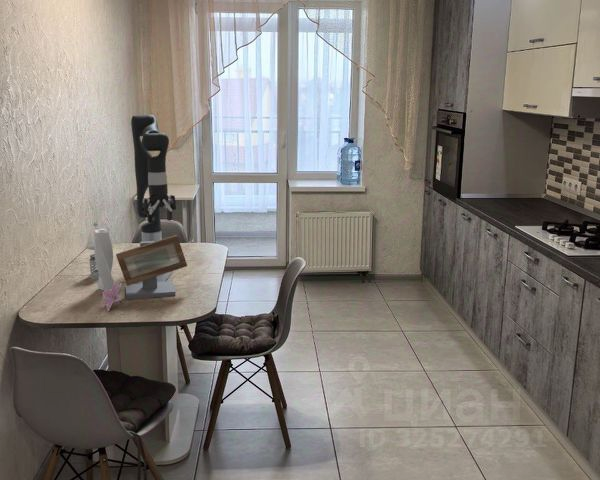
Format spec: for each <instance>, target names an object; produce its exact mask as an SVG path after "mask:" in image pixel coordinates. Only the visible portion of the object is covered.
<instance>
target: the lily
mask: <svg viewBox="0 0 600 480" xmlns="http://www.w3.org/2000/svg"><path fill="white" fill-rule="evenodd" d="M122 285H123V283H122V282H121V283H118V284H117V285H116V282H114V283H113V285H112V287H111V290H105V291H103V290H102V296H103V299H105V300H104V302H103V303H102V306H101V308H104V307H106V310H107V312H110V310H111V307H112V304H113V303H114V302H118V301H119V302H120V303H121V305H124V304H123V302H122V301H121V297H120V295H119V294H118V292H119V290H120V288H121V287H122Z"/></svg>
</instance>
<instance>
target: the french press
mask: <svg viewBox="0 0 600 480" xmlns="http://www.w3.org/2000/svg"><path fill="white" fill-rule="evenodd" d="M93 226H94V227H95V228H97V226H98V222H94V223H93ZM87 249H88V250H90V251H94V243H93V244H90V245H89V246H88V247H87ZM89 257H90V258H89V259H88V261H89V267H90V268H89V269H90V270H89V272H90V274H88V278H89V279H92V280H93V279H96V280H99V272H98V269H97V265H96V260H95V253H92V254H90V255H89Z"/></svg>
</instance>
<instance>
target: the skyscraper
mask: <svg viewBox="0 0 600 480" xmlns="http://www.w3.org/2000/svg"><path fill="white" fill-rule="evenodd" d="M93 244H94V250H93V251H94V254H95V261H96V266H97V268H96V269H98V272H99V279H98V282H97V290H99V289H101V290H100V291H103V290H104V291H105V290H110V289H111V287H112V285H113V283H114V279H113V278H114V277H113V276H112V270H113V263H114V250H113V243H112V239H111V236H110V226H109V225H107V226H106V228H99V229H97V228H95V230H94V243H93Z"/></svg>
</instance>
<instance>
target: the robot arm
mask: <svg viewBox="0 0 600 480" xmlns="http://www.w3.org/2000/svg"><path fill="white" fill-rule="evenodd" d="M130 120H131V123H130V125H131V134H132V135H131V136H132V140H133V149H134V152H133V153H134V174H135V181H136V211H137V215H138V217H139V218H143V219H144V218H145V219H147V223H144V224H143V225H141V227H140V228H141V229H140V230H141V242H144V241H158V240H161V239H163V238H162V223H161V208H165V210H166V220H167V221H169V222H170V221H172V219H173V211H175V210H176V209H177V206H176V205H177V204H176V197H175V195H173V194H169V195H168V193H169V190H168V176H167V166H166V164H167V163H166V157H167V152H168V149H169V145H170V139H169V136H168V134H166V133H165V132H163V133H162V132H160V130H159V124H158V121H157V120H158V119H157V117H156V116H154V114H135V115H133V116H131V119H130ZM141 137H142V139H141ZM150 152H159V153H158V154H157V155H155V156H152V154H151V153H150ZM147 190H148V197H145V194H146V192H147ZM168 201H169V203H168Z"/></svg>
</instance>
